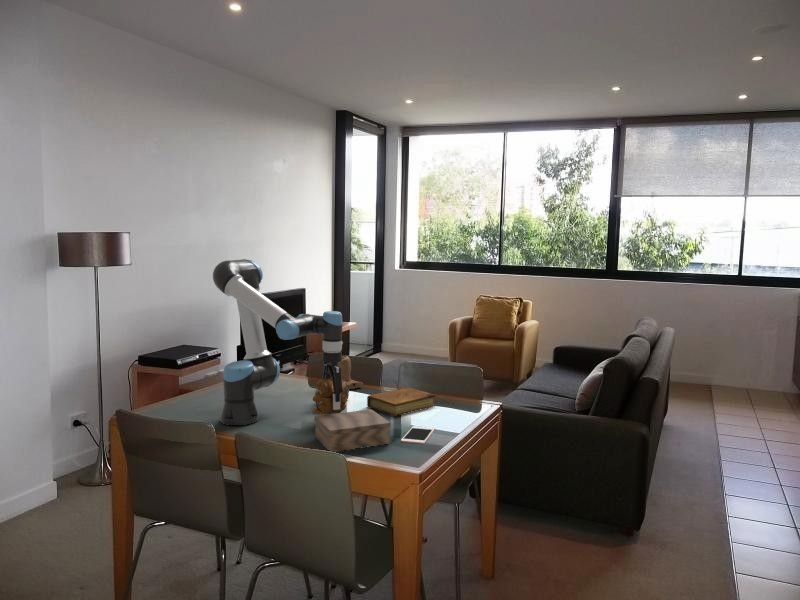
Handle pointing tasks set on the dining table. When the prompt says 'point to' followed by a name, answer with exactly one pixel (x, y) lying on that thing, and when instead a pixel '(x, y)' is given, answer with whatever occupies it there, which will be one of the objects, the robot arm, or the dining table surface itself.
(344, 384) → the bread
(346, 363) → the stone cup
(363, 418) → the walnut box
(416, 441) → the cell phone
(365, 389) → the dining table surface
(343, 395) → the stuffed squirrel
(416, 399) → the diary
